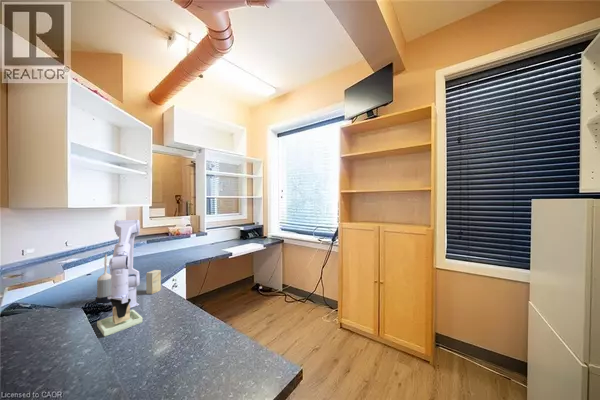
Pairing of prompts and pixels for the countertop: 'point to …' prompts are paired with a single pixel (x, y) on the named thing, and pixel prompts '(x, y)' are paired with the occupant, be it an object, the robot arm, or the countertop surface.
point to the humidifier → (104, 285)
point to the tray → (118, 324)
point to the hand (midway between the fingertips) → (120, 315)
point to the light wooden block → (153, 281)
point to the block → (118, 320)
